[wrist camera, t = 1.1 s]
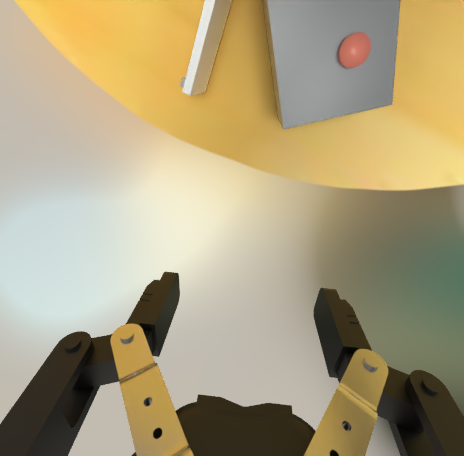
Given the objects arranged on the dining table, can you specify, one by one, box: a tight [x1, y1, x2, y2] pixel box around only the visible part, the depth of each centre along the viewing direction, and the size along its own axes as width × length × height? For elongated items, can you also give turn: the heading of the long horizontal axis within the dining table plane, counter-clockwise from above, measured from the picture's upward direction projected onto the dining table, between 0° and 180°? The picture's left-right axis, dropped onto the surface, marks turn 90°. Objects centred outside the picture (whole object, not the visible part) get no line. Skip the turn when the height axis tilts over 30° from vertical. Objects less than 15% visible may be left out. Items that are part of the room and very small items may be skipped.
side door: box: [180, 0, 232, 95], centre depth 24 cm, size 15×2×8 cm, turn 158°
